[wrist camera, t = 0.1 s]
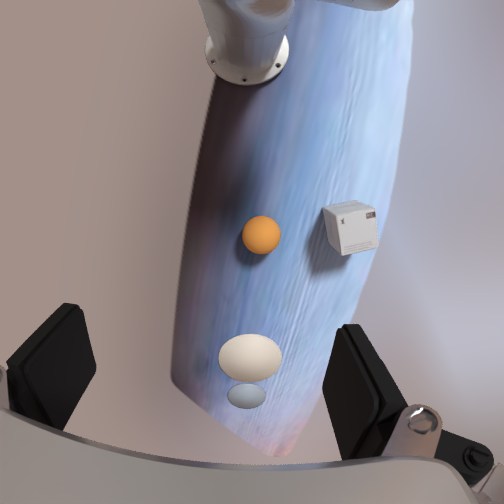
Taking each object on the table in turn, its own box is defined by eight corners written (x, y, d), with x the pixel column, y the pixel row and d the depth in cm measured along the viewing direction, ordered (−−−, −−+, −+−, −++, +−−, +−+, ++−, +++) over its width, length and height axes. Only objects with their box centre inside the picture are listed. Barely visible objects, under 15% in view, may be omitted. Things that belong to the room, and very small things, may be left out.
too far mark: (228, 382, 56) (228, 382, 56) (267, 383, 56) (267, 384, 56) (227, 407, 58) (227, 407, 58) (264, 408, 59) (264, 409, 58)
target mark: (218, 331, 52) (218, 332, 52) (285, 334, 52) (285, 335, 52) (218, 379, 56) (218, 380, 55) (277, 382, 56) (277, 382, 56)
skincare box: (327, 242, 47) (340, 257, 40) (321, 206, 45) (334, 215, 38) (361, 234, 47) (379, 248, 40) (356, 198, 45) (375, 207, 38)
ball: (243, 211, 45) (243, 219, 40) (280, 213, 45) (284, 221, 40) (241, 246, 47) (240, 258, 42) (276, 248, 47) (280, 260, 42)
